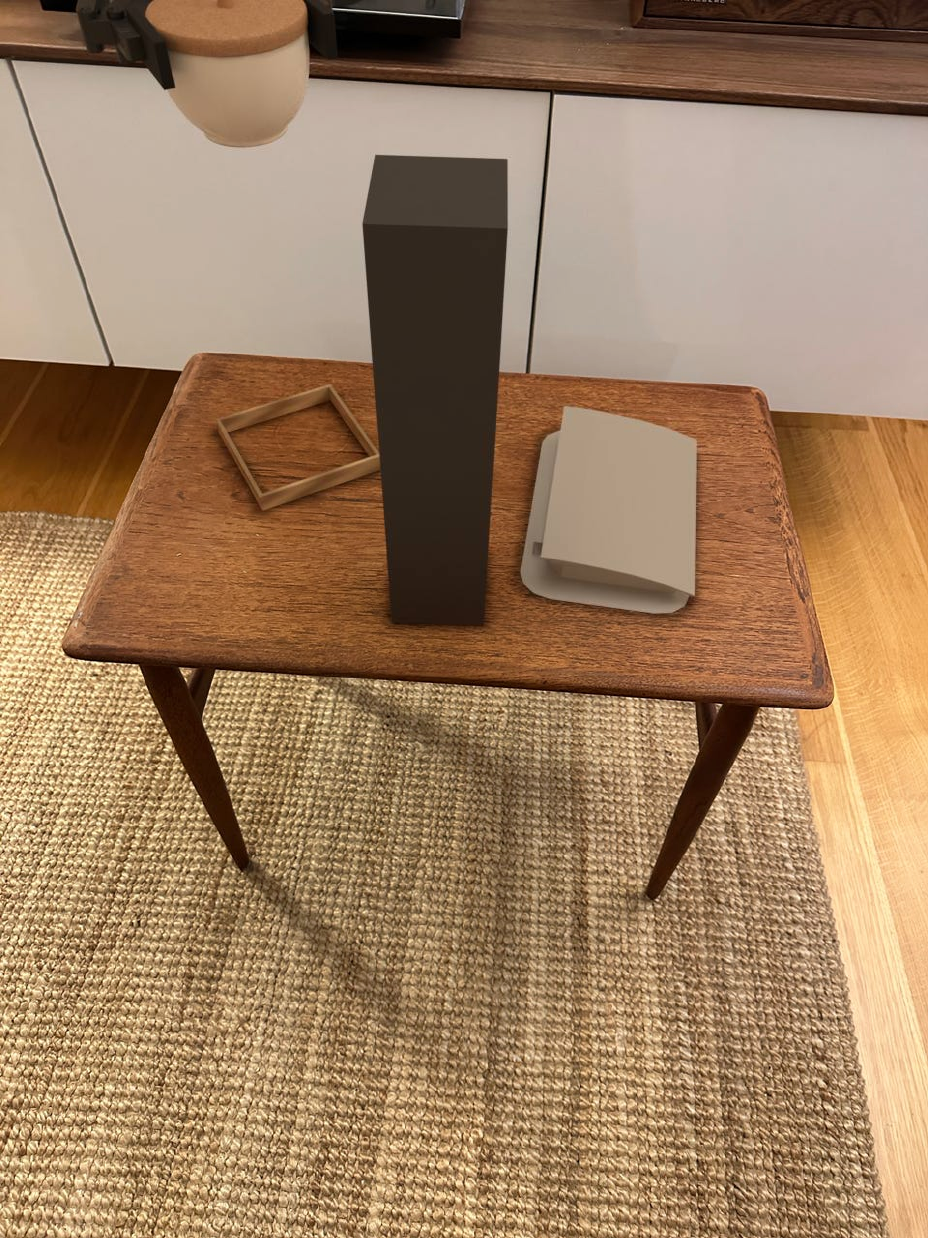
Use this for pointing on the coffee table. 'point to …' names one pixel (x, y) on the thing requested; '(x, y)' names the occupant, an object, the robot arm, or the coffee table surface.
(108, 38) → the robot arm
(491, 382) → the pedestal
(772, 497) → the coffee table surface
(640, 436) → the beige covered tray
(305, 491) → the empty wooden frame
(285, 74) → the trinket box
